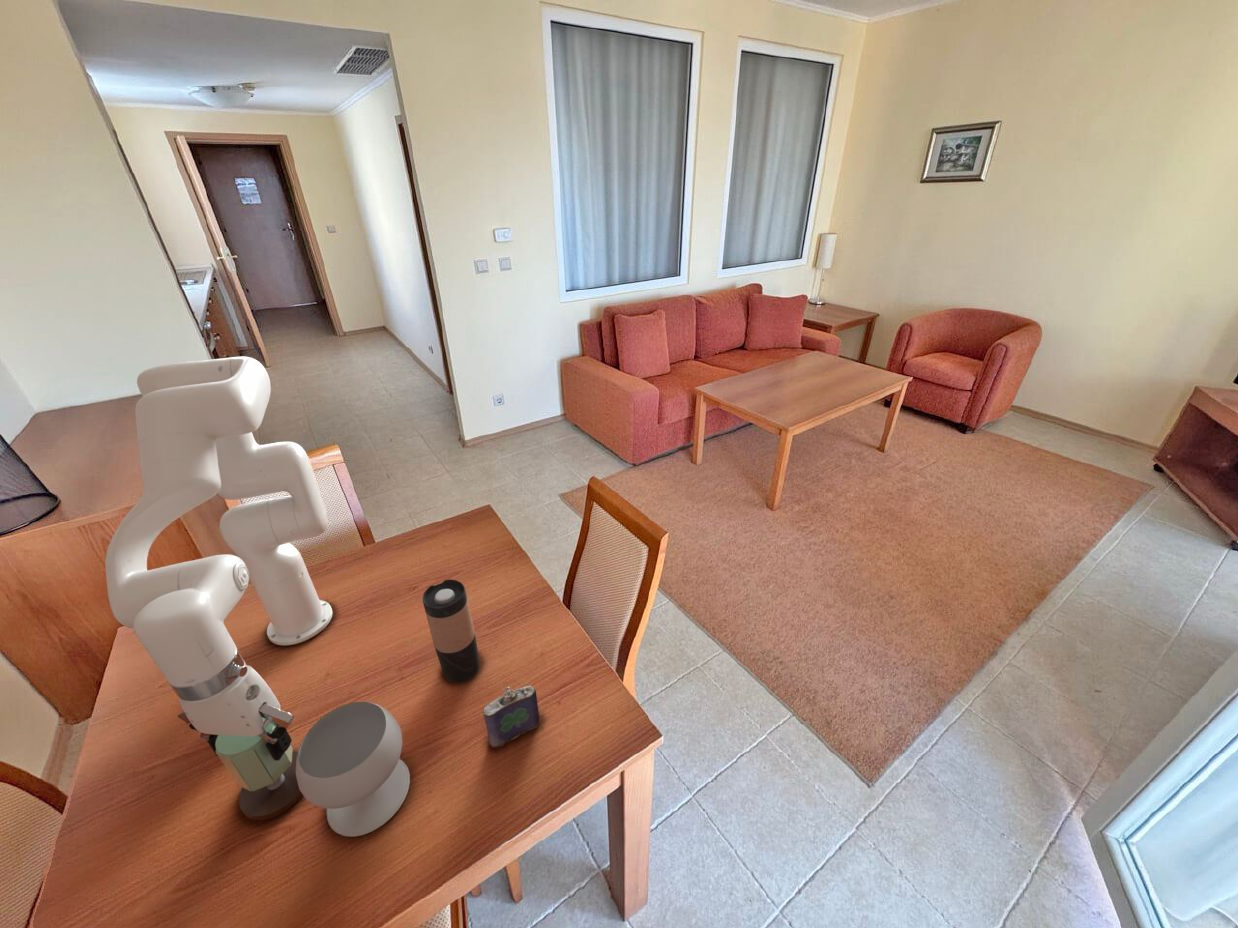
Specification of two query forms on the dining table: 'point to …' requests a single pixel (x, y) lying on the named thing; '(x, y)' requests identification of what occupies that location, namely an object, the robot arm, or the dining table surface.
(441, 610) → the travel mug
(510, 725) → the flask
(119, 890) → the dining table surface
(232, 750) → the green cup
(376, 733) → the chalice
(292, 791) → the towel holder
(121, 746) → the dining table surface
